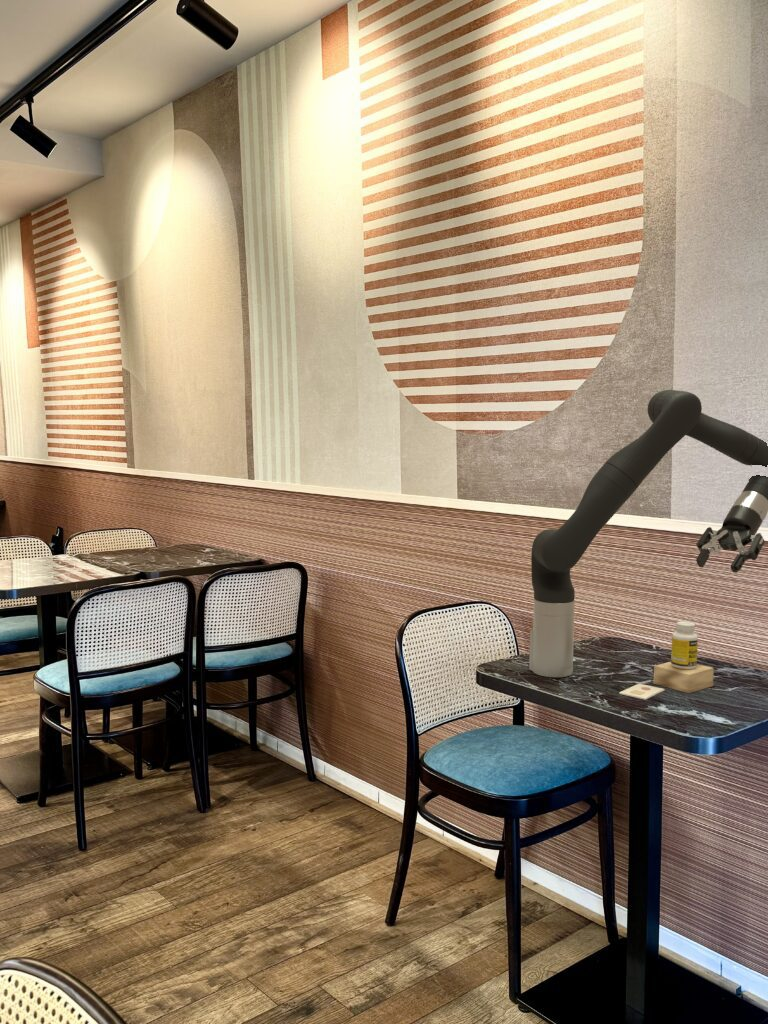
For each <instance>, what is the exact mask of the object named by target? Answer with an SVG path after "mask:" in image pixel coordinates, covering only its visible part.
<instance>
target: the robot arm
mask: <svg viewBox="0 0 768 1024" xmlns="http://www.w3.org/2000/svg"><path fill="white" fill-rule="evenodd" d="M702 410H703V408H702V402H701V400H700V398H699V397H698V396H697V395H696V394H694V393H692V392H689V391H685V390H676V389H664V390H661V391H658V392H656V393H655V394H654V395H652V397H651V398H650V400H649V401H648V404H647V415H648V417H649V420H650V421H651V422H652V424H651V425H650V426H649V428H648V429H647V430H646V431H645V432H644V433H642V434H641V435H640V436H639V437H638V438H636V439H634V440H633V441H631V442H630V443H628V444H627V445H625V446H623V447H622V448H621V449H619V450H617V452H615V453H614V454H612V455H610V457H609V458H608V459H607V460H606V461H605V463H603V464H602V466H601V467H600V468H599V469H598V471H597V472H595V474H594V476H593V477H592V478H591V480H590V481H589V483H588V485H587V486H586V489H585V491H584V493H583V495H582V498H581V500H580V502H579V504H578V506H577V508H576V509H575V511H574V512H573V513H572V514H571V516H570V517H569V518H568V519H567V520H566V521H565V522H564V523H563V524H562V525H561V526H560V527H559V528H558V529H555V528H548V529H545V530H542V531H541V532H539V533H538V534H537V535H536V536H535V538H534V540H533V541H532V544H531V545H532V546H531V561H530V562H531V565H530V566H531V585H532V590H533V620H532V623H533V627H532V629H530V631H529V663H528V665H529V667H528V669H529V671H532V673H534V674H535V675H538V676H541V677H546V678H564V677H568V676H572V674H574V672H573V671H574V669H573V668H574V638H575V637H574V635H575V634H574V632H575V592H576V591H575V587H574V585H573V582H572V579H571V569H573V568H574V566H576V564H577V563H578V562H579V561H580V560H581V559H582V556H584V553H586V551H587V550H588V548H589V546H590V545H591V543H592V542H593V541H594V539H595V537H596V536H597V535H598V534H599V532H600V531H601V530H602V529H603V528H604V527H605V525H606V524H607V523H608V522H609V521H610V520H611V519H612V518H613V517H614V515H615V514H616V513H617V512H618V511H619V510H620V508H621V507H622V506H623V505H624V504H625V503H626V502H627V501H628V500H629V498H631V496H632V495H633V494H634V493H635V491H636V490H637V489H638V488H639V487H640V485H641V484H642V482H643V481H645V480H646V478H647V477H648V475H650V473H651V472H652V471H653V470H654V468H656V466H657V465H658V464H659V463H660V462H661V461H662V459H663V458H664V457H665V456H666V455H667V454H668V452H669V451H670V450H671V449H673V448H674V447H675V446H676V445H677V444H678V443H679V442H680V441H681V440H683V438H684V437H685V436H687V437H689V438H691V439H694V440H697V441H699V442H701V444H704V445H707V446H708V447H710V448H712V449H713V450H715V451H718V452H720V453H722V454H723V455H725V456H727V457H729V458H730V459H733V460H734V461H736V462H738V463H740V464H743V465H745V466H752V465H762V466H765V467H767V465H768V446H767V443H766V442H764V441H763V440H764V439H763V440H761V439H762V438H759V437H758V436H755V435H754V434H752V433H750V432H749V431H747V430H744V429H742V428H740V427H739V426H735V425H733V424H730V423H727V422H725V421H722V420H720V419H716V418H715V417H712V416H710V415H708V414H706V413H704V412H702ZM748 481H749V482H747V483H746V485H745V487H744V488H743V490H742V492H741V493H740V494H739V496H738V497H736V498H737V499H735V501H734V503H733V504H732V506H731V508H730V509H729V511H728V513H727V514H726V515H725V518H724V519H723V522H722V524H721V525H722V526H721V528H719V529H718V530H714V529H713V528H712V527H710V526H709V527H707V528H706V529H705V530H704V532H703V534H702V535H701V536H700V538H699V539H698V541H697V542H696V544H695V545H696V547H697V549H698V551H699V553H698V555H697V557H696V560H695V561H696V563H697V564H696V565H697V566H698V567H699V568H704V567H705V565H706V563H707V561H708V559H709V558H710V555H713V554H714V553H720V551H722V550H727V551H728V550H729V551H733V552H736V551H738V554H736V556H735V557H734V559H733V561H732V563H731V565H730V569H731V572H732V573H735V574H736V573H738V572H739V571H741V570H742V568H743V566H744V564H745V562H748V560H752V561H756V560H757V559H758V556H759V554H760V553H761V551H762V548H763V546H764V544H765V542H766V541H765V538H764V536H763V535H762V533H761V532H758V531H759V529H760V527H761V526H762V524H763V522H764V521H765V519H766V517H767V514H768V477H766V476H760V475H756V476H752V477H751V478H750V479H749V478H748ZM757 532H758V533H757ZM717 542H718V544H719V545H717ZM749 544H750V546H749V548H748V550H747V549H746V546H748V545H749Z"/></svg>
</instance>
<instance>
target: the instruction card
mask: <svg viewBox="0 0 768 1024" xmlns="http://www.w3.org/2000/svg"><path fill="white" fill-rule="evenodd" d="M665 690H666V689H665V688H663V687H662V688H661V687H657V686H652V685H647V684H643V683H636V684H635V685H633V686H631V687H627V688H626V689H623V690H622V691H619V695H624V696H627V697H632V698H636V699H641V700H645V701H646V700H648V699H650V698H652V697H654V696H657V695H658V694H660V693H662V692H665Z"/></svg>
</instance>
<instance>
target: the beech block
mask: <svg viewBox="0 0 768 1024" xmlns="http://www.w3.org/2000/svg"><path fill="white" fill-rule="evenodd" d="M714 671H715V670H714V667H711V666H708V665H703V664H699V663H697V664H696V668H694V669H679V668H675V667H673V666H672V665H671V661H668V662H664V663H660V664H657V665H654V666H653V681H652V684H654V685H658V686H661V687H665V688H669V689H672V690H676V691H679V692H682V693H687V694H691V693H694V692H697V691H702V690H705V689H708V688H711V687H713V686H715V682H714Z"/></svg>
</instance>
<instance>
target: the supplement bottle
mask: <svg viewBox="0 0 768 1024" xmlns="http://www.w3.org/2000/svg"><path fill="white" fill-rule="evenodd" d="M675 629H676V630H675V631H674V632H673V633H672V636H671V656H670V662H671V665H672V666H673V667H675V668H679V669H694V668H696V664H698V663H697V661H698V660H697V659H698V642H699V637H698V635H697V633H695V631H696V623H694V622H690V621H677V622H676V623H675Z"/></svg>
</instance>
